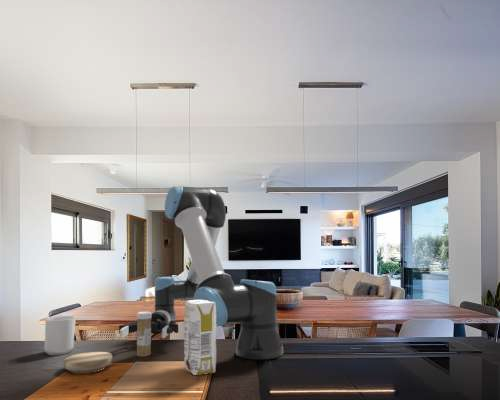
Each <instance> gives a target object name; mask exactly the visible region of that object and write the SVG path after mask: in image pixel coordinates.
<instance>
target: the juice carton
mask: <svg viewBox="0 0 500 400" xmlns="http://www.w3.org/2000/svg"><path fill="white" fill-rule="evenodd" d="M184 304H185V305H184V313H183V314H184V318H183V319H184V321H183V323H184V325H183V326H184V327H183V328H184V334H183V338H184V339H183V341H184V343H183V344H184V346H183V362H184V369H185V368H186V369H187V370H188V371H190V372H191V373H192V374H193V375H199V376H201V375H200V374H205V373H210V374H214V373H216V367H217V326H216V305H215V302H209V301H208V300H206V299H200V300H194V299H193V300H192V299H190V300H189V299H188V300H185V303H184ZM186 369H185V370H186ZM187 370H186V371H187ZM188 371H187V372H188ZM190 372H189V373H190ZM191 373H190V374H191ZM192 374H191V375H192ZM205 375H206V374H205Z"/></svg>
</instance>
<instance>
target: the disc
mask: <svg viewBox="0 0 500 400" xmlns="http://www.w3.org/2000/svg"><path fill="white" fill-rule="evenodd" d="M112 363H113V354H112V353H111V352H107V351H89V352H82V353H81V352H80V353H76V354H73V355H69V356H68V357H66V358H64V360H63V369H64V370H67V371H69V373H71V374H77V375H78V374H79V375H80V374H81V375H83V374H84V373H85V374H90V373H89V372H93V373H95V372H94V371H97V372H99V371H98V370H101V369H103V368H105V367H106V366H107V367H108V366H110V365H111V364H112ZM107 367H106V368H107ZM106 368H105V369H106ZM103 370H104V369H103ZM101 371H102V370H101Z"/></svg>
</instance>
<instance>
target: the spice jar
mask: <svg viewBox="0 0 500 400" xmlns="http://www.w3.org/2000/svg"><path fill="white" fill-rule="evenodd" d="M151 314H152V312H151V311H138V312H137V313H136V319H137V320H136V321H138V325H137V332H136V333H137V334H136V357H137V356H138V357H142V358H143V357H148V356H151V354H152V352H151V343H152V333H151Z"/></svg>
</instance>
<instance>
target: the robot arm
mask: <svg viewBox="0 0 500 400" xmlns="http://www.w3.org/2000/svg"><path fill="white" fill-rule="evenodd" d="M164 215H165V217H166V218H167V219H170V220H171V219H173V221H174V224H175V226H176V227H177V228H179V229H181V232H182V234H183V237H184V240H185V243H186V246H187V247H186V248H187V249H188V252H189V253H188V254H189V255H190V258H191V262H190V266H189V270H188V273H187V276H186V279H185V280H175V278H174V276H160V277H156V279H155V282H154V312H151V334H153V335H158V334H161V338H162V339H165V338H167V336H168V335H170V334H173V333H174V334H175V333H176V334H178V333H179V324H178V323H176V322H175V320H176V318H177V317H176V316H177V314H176V313H177V312H176V310H175V301H181V300H189V299H190V300H192V299H193V300H200V299H206V300H208V301H209V302H215V305H216V327H222V326H225V325H233V324H239V323H240V331H239V335H238V338H237V343H236V345H235V346H236V347H235V355H236V356H237V357H239V358H242V359H245V360H246V359H247V360H271V359H276V358H279V357H281V356H283V354H284V346H283V343H282V339H281V336H280V334H279V331H278V317H277V315H278V313H277V312H278V311H277V309H278V308H277V296H278V294H277V287H276V284H275V283H274V282H273V281H263V280H256V279H255V280H254V279H253V280H252V279H244V278H243V279H240V281H239V284H235V283H234V281H233V277H232V276H231V275H230V274H229V273H225V270H224V268H223V265H222V263H221V259H220V257H219V255H218V252H217V249H216V244H217V241H218V237H219V233H220V230H221V229H222V228H224V225H225V222H226V217H227V211H226V206H225V201H224V199H223V198H222V195H220V194H219V192H217V191H216V190H214V189H212V188H205V187H203V188H202V187H191V186H182V185H181V186H172V187H170V189H169V190H168V192H167V194H166V197H165V200H164ZM137 325H138V320H135V321H134V322H133V321H132V322H129V323H128V322H127V323H125V324H120V325H118V334H119V340H120V339H123V338H125V337H127V336H128V335H129V334H131V333H132V334H133V333H137Z"/></svg>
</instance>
